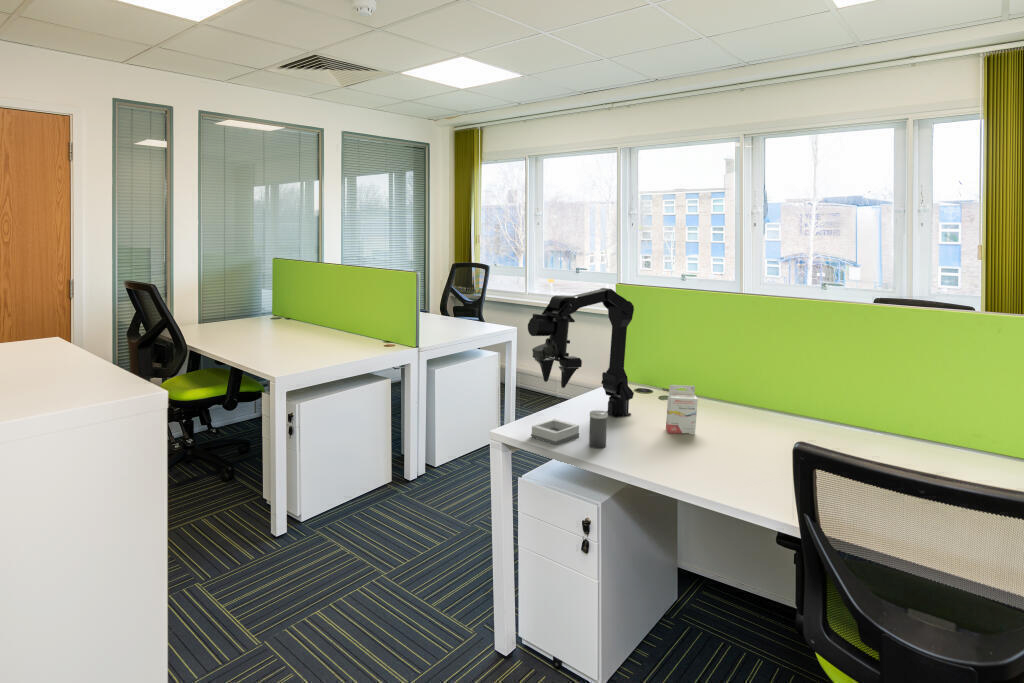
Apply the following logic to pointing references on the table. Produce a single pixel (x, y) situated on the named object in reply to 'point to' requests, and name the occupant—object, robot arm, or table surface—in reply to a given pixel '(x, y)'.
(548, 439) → the white open box
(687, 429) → the ink cartridge box
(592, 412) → the gray cylindrical canister
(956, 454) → the table surface
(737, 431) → the table surface
